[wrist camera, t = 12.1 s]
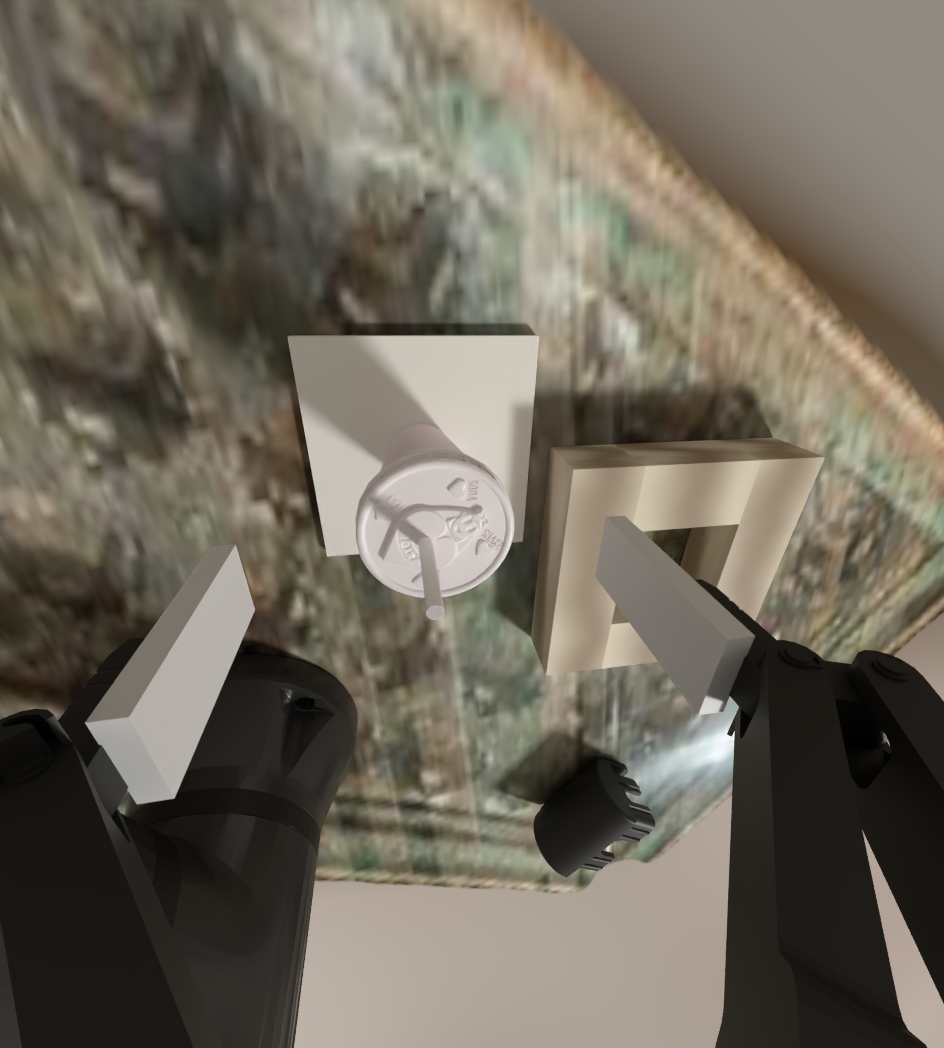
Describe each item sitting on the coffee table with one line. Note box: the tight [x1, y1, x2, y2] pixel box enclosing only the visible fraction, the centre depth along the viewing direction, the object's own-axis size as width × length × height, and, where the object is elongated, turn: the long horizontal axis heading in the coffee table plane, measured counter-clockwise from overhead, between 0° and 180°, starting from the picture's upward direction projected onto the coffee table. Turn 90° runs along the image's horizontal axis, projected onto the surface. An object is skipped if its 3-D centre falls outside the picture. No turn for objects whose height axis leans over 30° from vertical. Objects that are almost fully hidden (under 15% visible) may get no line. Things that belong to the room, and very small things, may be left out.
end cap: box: [534, 757, 655, 877], centre depth 43 cm, size 10×7×7 cm
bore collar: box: [531, 438, 825, 675], centre depth 30 cm, size 16×16×4 cm
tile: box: [287, 335, 539, 556], centre depth 25 cm, size 13×13×1 cm
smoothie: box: [355, 424, 515, 620], centre depth 19 cm, size 6×6×14 cm
